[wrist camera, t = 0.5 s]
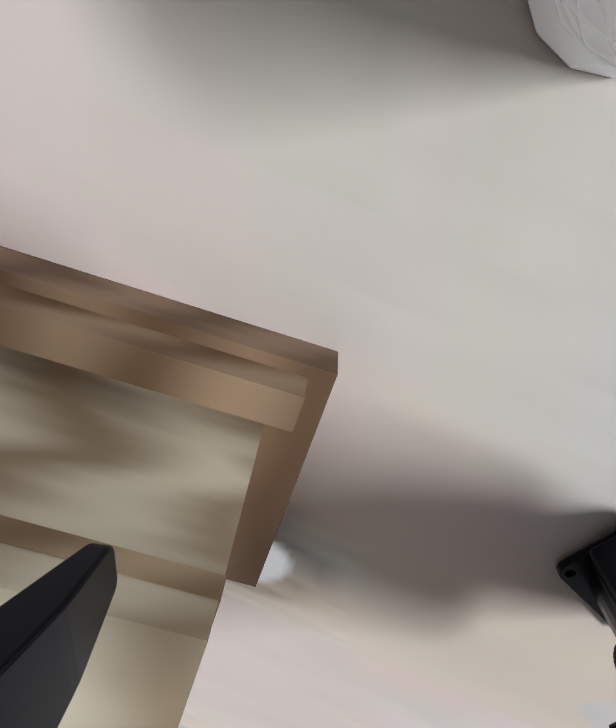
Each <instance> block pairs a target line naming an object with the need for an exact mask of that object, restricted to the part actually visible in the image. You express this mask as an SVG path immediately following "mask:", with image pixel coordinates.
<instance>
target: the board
mask: <svg viewBox="0 0 616 728" xmlns="http://www.w3.org/2000/svg"><path fill="white" fill-rule="evenodd" d="M0 345H1V346H4V347H8V348H11V349H14V350H18V351H21V352H24V353H28V354H31V355H34V356H38V357H41V358H45V359H48V360H51V361H55V362H58V363H61V364H65V365H68V366H71V367H75V368H78V369H81V370H85V371H88V372H92V373H95V374H98V375H102V376H105V377H108V378H112V379H115V380H118V381H122V382H125V383H129V384H132V385H135V386H139V387H142V388H145V389H149V390H152V391H155V392H159V393H162V394H165V395H169V396H172V397H176V398H179V399H182V400H186V401H189V402H192V403H196V404H199V405H202V406H206V407H209V408H213V409H216V410H219V411H223V412H226V413H229V414H233V415H236V416H239V417H243V418H246V419H249V420H253V421H256V422H260V423H263V424H264V427H263V431H262V435H261V439H260V442H259V446H258V450H257V454H256V458H255V462H254V466H253V469H252V473H251V477H250V481H249V485H248V489H247V492H246V496H245V500H244V504H243V508H242V512H241V515H240V519H239V523H238V527H237V531H236V535H235V538H234V542H233V546H232V550H231V554H230V558H229V562H228V565H227V569H226V573H225V576H227V577H226V579H228V580H232V581H236V582H240V583H243V584H247V585H251V586H254V587H256V584H257V582H258V579H259V576H260V574H261V571H262V569H263V566H264V563H265V561H266V558H267V555H268V553H269V550H270V548H271V545H272V543H273V540H274V538H275V535H276V532H277V530H278V527H279V525H280V522H281V519H282V517H283V514H284V512H285V509H286V506H287V504H288V501H289V499H290V496H291V494H292V491H293V488H294V486H295V483H296V481H297V478H298V475H299V473H300V470H301V468H302V465H303V462H304V460H305V457H306V455H307V452H308V450H309V447H310V444H311V442H312V439H313V437H314V434H315V431H316V429H317V426H318V424H319V421H320V418H321V416H322V413H323V411H324V408H325V406H326V403H327V400H328V398H329V395H330V393H331V390H332V387H333V385H334V382H335V380H336V377H337V374H338V352H336V351H333V350H330V349H327V348H323V347H320V346H317V345H314V344H311V343H308V342H304V341H301V340H298V339H295V338H292V337H288V336H285V335H282V334H279V333H276V332H272V331H269V330H266V329H263V328H260V327H256V326H253V325H250V324H247V323H244V322H241V321H237V320H234V319H231V318H228V317H225V316H221V315H218V314H215V313H212V312H209V311H205V310H202V309H199V308H196V307H193V306H190V305H186V304H183V303H180V302H177V301H174V300H170V299H167V298H164V297H161V296H158V295H154V294H151V293H148V292H145V291H142V290H138V289H135V288H132V287H129V286H126V285H123V284H119V283H116V282H113V281H110V280H107V279H103V278H100V277H97V276H94V275H91V274H87V273H84V272H81V271H78V270H75V269H71V268H68V267H65V266H62V265H59V264H56V263H52V262H49V261H46V260H43V259H40V258H36V257H33V256H30V255H27V254H24V253H20V252H17V251H14V250H11V249H8V248H4V247H1V246H0Z"/></svg>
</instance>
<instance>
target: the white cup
mask: <svg viewBox="0 0 616 728" xmlns="http://www.w3.org/2000/svg"><path fill="white" fill-rule="evenodd" d="M528 4H529V8H530V11H531V15H532V19H533V22H534V26H535V30H536V33H537V34H538V35H539V36H540V37H541V38H542V39H543V40H544V41H545V43H546V44H547V45H548V46H549V47H550V48H551V49H552V50H553V51H554V52H555V53H556V54H557V55H558V56H559V57H560V58H561V59H562V60H563V61H564V62H565V63H566V64H567V65H568V66H569V67H570V68H572V69H576V70H580V71H584V72H589V73H593V74H597V75H601V76H606V77H610V78H614V79H616V0H528Z"/></svg>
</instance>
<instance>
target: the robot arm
mask: <svg viewBox="0 0 616 728" xmlns="http://www.w3.org/2000/svg"><path fill="white" fill-rule="evenodd" d="M556 569H557V572H558V574H559V576H560V577H561V579H562V580H563V581H564V582H566V583H567V584H568V585H569V586H570V587H571V588H572V589H573V590H574V591H575V592H576V593H577V594H578V595H579V596H580V597H581V598H582V599H583V600H585V601H586V602H587V603H588V604H589V605H590V606H591V607H592V608H593V609H594V610H595V611H596V612H597V613H598V614H599V615H600V616H601V617H602V618H604V619H605V620H606V621H607V622H608V624H609V626H610V627H611V629H612V631H613V633H614V635H615V637H616V532H615V533H613V534H611V535H609V536H607V537H605V538H603V539H602V540H600V541H598V542H596V543H594V544H592V545H590V546H589V547H587V548H585V549H583V550H581V551H579V552H577V553H576V554H574V555H572V556H570V557H568V558H566V559H564V560H563V561H561V562H560V563H558V565H557V566H556ZM116 586H117V569H116V560H115V551H114V548H113V547H112V546H110V545H106V544H98V543H90V544H87V545H86V546H84V547H83V548H81V549H80V550H78V551H77V552H76V553H74V554H73V555H71V556H70V557H69V558H67V559H66V560H64V561H63V562H61V563H60V564H59V565H57V566H56V567H54V568H53V569H52V570H50V571H49V572H47V573H46V574H45V575H43V576H42V577H40V578H39V579H38V580H36V581H35V582H33V583H32V584H31V585H29V586H28V587H26V588H25V589H23V590H22V591H21V592H19V593H18V594H16V595H15V596H14V597H12V598H11V599H9V600H8V601H7V602H5V603H4V604H2V605H1V606H0V728H58V726H59V724H60V722H61V720H62V718H63V716H64V714H65V712H66V710H67V708H68V706H69V704H70V702H71V700H72V698H73V696H74V694H75V692H76V689H77V687H78V685H79V683H80V681H81V678H82V676H83V673H84V671H85V669H86V666H87V663H88V661H89V658H90V656H91V653H92V650H93V648H94V645H95V643H96V640H97V637H98V635H99V632H100V630H101V627H102V624H103V622H104V619H105V617H106V614H107V611H108V609H109V606H110V604H111V601H112V598H113V596H114V593H115V590H116ZM613 658H614V664H615V668H616V645H615V647H614V652H613ZM609 728H616V722H614V723H612V724H610V725H609Z"/></svg>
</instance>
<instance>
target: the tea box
mask: <svg viewBox="0 0 616 728" xmlns="http://www.w3.org/2000/svg"><path fill="white" fill-rule="evenodd" d="M263 427H264V424H263V423H260V422H256V421H253V420H249V419H246V418H243V417H239V416H236V415H233V414H229V413H226V412H223V411H219V410H216V409H213V408H209V407H206V406H202V405H199V404H196V403H192V402H189V401H186V400H182V399H179V398H176V397H172V396H169V395H165V394H162V393H159V392H155V391H152V390H149V389H145V388H142V387H139V386H135V385H132V384H129V383H125V382H122V381H118V380H115V379H112V378H108V377H105V376H102V375H98V374H95V373H92V372H88V371H85V370H81V369H78V368H75V367H71V366H68V365H65V364H61V363H58V362H55V361H51V360H48V359H45V358H41V357H38V356H34V355H31V354H28V353H24V352H21V351H18V350H14V349H11V348H8V347H4V346H1V345H0V606H1V605H2V604H4V603H5V602H7V601H8V600H9V599H11V598H12V597H14V596H15V595H16V594H18V593H19V592H21V591H22V590H23V589H25V588H26V587H28V586H29V585H31V584H32V583H33V582H35V581H36V580H38V579H39V578H40V577H42V576H43V575H45V574H46V573H47V572H49V571H50V570H52V569H53V568H54V567H56V566H57V565H59V564H60V563H61V562H63V561H64V560H66V559H67V558H69V557H70V556H71V555H73V554H74V553H76V552H77V551H78V550H80V549H81V548H83V547H84V546H86V545H87V544H90V543H98V544H106V545H110V546H112V547H113V548H114V551H115V560H116V569H117V586H116V590H115V593H114V596H113V598H112V601H111V604H110V606H109V609H108V611H107V614H106V617H105V619H104V622H103V624H102V627H101V630H100V632H99V635H98V637H97V640H96V643H95V645H94V648H93V650H92V653H91V656H90V658H89V661H88V663H87V666H86V669H85V671H84V673H83V676H82V678H81V681H80V683H79V685H78V687H77V689H76V692H75V694H74V696H73V698H72V700H71V702H70V704H69V706H68V708H67V710H66V712H65V714H64V716H63V718H62V720H61V722H60V724H59V726H58V728H178V725H179V723H180V720H181V717H182V714H183V711H184V708H185V705H186V702H187V700H188V697H189V694H190V691H191V688H192V685H193V682H194V679H195V676H196V674H197V671H198V668H199V665H200V662H201V659H202V656H203V653H204V651H205V648H206V645H207V642H208V638H209V635H210V631H211V627H212V624H213V621H214V618H215V615H216V612H217V609H218V606H219V603H220V601H221V597H222V593H223V589H224V585H225V581H226V577H227V576H225V573H226V569H227V565H228V562H229V558H230V554H231V550H232V546H233V542H234V538H235V535H236V531H237V527H238V523H239V519H240V515H241V512H242V508H243V504H244V500H245V496H246V492H247V489H248V485H249V481H250V477H251V473H252V469H253V466H254V462H255V458H256V454H257V450H258V446H259V442H260V439H261V435H262V431H263Z"/></svg>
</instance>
